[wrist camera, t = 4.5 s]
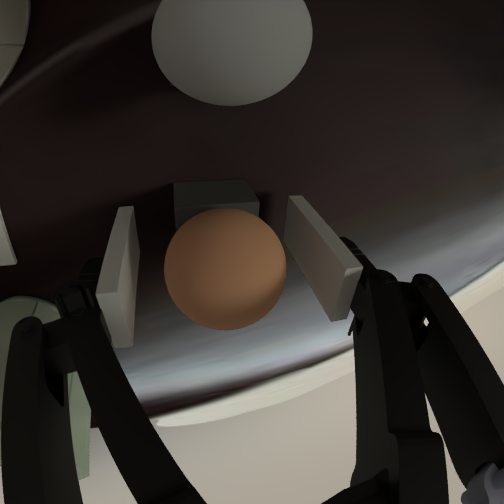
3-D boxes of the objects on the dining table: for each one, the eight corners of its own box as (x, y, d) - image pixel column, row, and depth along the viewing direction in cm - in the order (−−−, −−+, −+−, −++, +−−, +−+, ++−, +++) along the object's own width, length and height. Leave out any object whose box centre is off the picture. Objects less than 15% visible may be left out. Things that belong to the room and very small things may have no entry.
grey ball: (159, -15, 8) (152, -60, 4) (285, -10, 9) (345, -40, 5) (155, 100, 11) (143, 121, 7) (278, 99, 12) (333, 121, 8)
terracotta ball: (159, 192, 13) (156, 257, 9) (271, 186, 14) (315, 244, 10) (169, 284, 16) (174, 361, 12) (263, 274, 17) (294, 345, 13)
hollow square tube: (173, 182, 16) (174, 207, 13) (245, 178, 17) (259, 201, 14) (177, 245, 18) (180, 277, 15) (242, 240, 19) (255, 270, 16)
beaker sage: (-24, 297, 16) (-70, 411, 8) (72, 292, 18) (42, 434, 10) (20, 371, 21) (3, 471, 13) (105, 372, 22) (103, 485, 14)
